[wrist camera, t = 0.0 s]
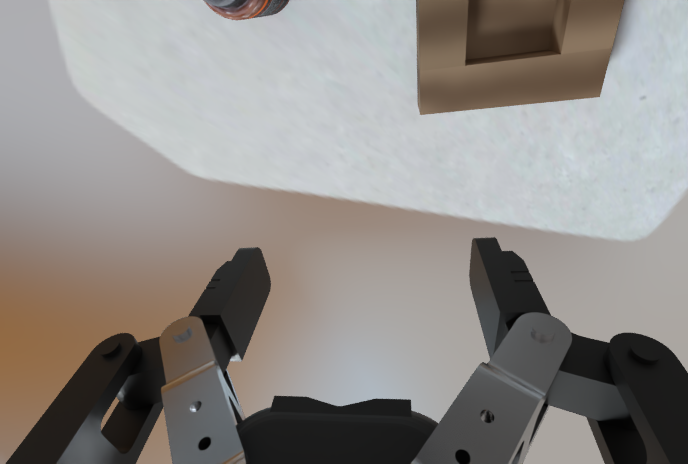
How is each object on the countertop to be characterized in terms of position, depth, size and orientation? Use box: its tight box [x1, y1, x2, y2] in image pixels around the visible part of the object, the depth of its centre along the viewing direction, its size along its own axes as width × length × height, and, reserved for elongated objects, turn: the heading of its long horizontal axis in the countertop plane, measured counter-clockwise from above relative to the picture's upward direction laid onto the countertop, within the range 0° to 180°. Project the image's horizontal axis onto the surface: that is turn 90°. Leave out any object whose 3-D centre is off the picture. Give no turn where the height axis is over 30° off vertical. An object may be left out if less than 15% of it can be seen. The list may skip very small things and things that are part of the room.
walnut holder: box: [416, 0, 624, 115], centre depth 31 cm, size 16×16×4 cm
